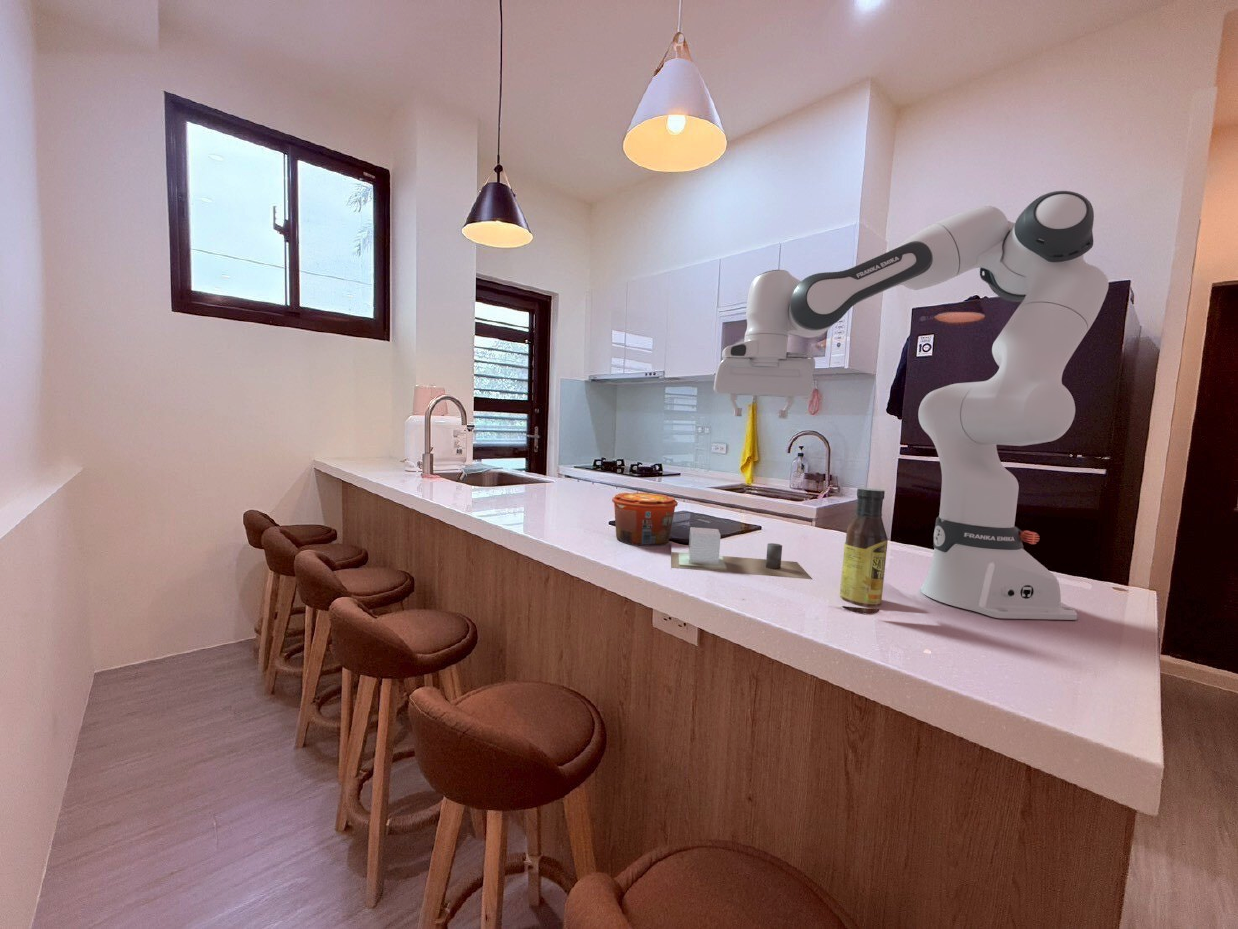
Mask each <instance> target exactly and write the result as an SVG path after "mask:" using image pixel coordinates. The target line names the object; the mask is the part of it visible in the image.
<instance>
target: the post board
mask: <svg viewBox="0 0 1238 929" xmlns="http://www.w3.org/2000/svg"><path fill="white" fill-rule="evenodd" d="M766 546H767V547H766V557H765V558H766V559H765V558H763V559H762V558H753V557H752V558H751V557H741V556H739V557H738V556H727V555H726V556H725V555H719V564H718V565H706V564H693V563H689V557H688V553H689V552H688V553H687V552H675V551H671V552H670V553H671V554H670V569H682V570H683V569H684V570H693V571H694V570H696V571H706V572H707V571H708V572H718V573H733V574H743V575H744V574H746V575H753V576H754V575H755V576H756V575H757V576H758V575H759V576H767V577H768V576H769V577H779V578H791V579H792V578H793V579H805V580H813V577H811V575H810V574H809V573H808V572H807V571H806V570H805V569H804V568H803V566H802V565H801V564H799V563H798V561H793V560H792V561H791V560H790V561H789V560H788V561H787V560H782V556H783V554H782V553H783V545H782V544H779V543H769V542H768V543H767V545H766Z"/></svg>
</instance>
